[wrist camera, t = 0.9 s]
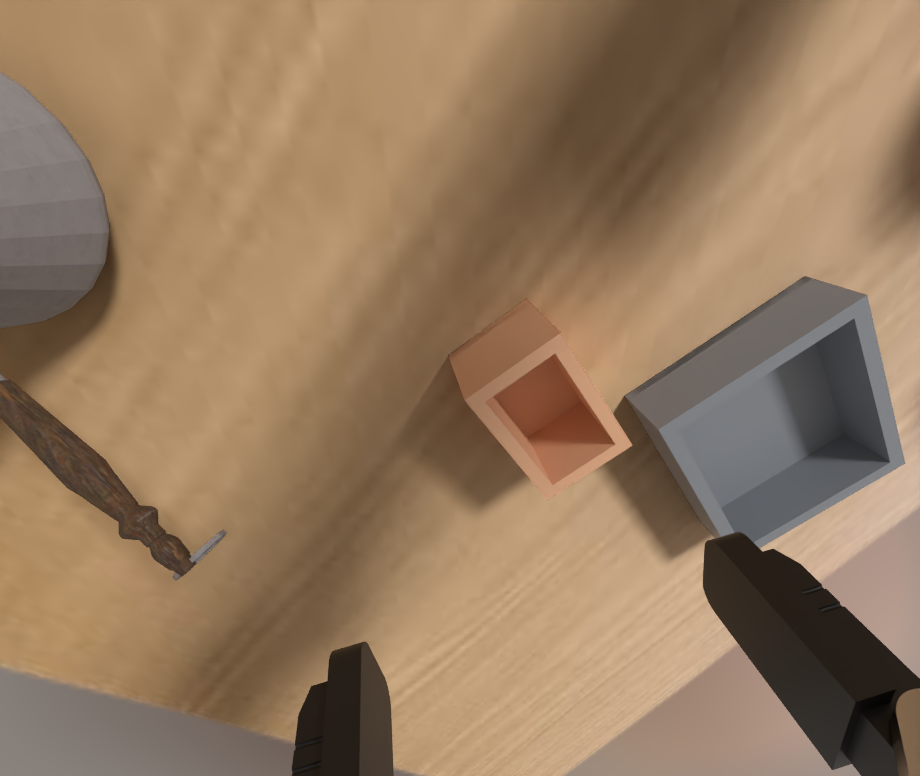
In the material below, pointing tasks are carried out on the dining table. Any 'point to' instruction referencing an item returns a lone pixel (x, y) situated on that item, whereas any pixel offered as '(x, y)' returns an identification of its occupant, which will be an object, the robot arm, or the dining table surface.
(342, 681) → the robot arm
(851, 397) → the grey crate
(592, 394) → the terracotta crate
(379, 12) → the dining table surface
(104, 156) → the dining table surface
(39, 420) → the coffee pot
